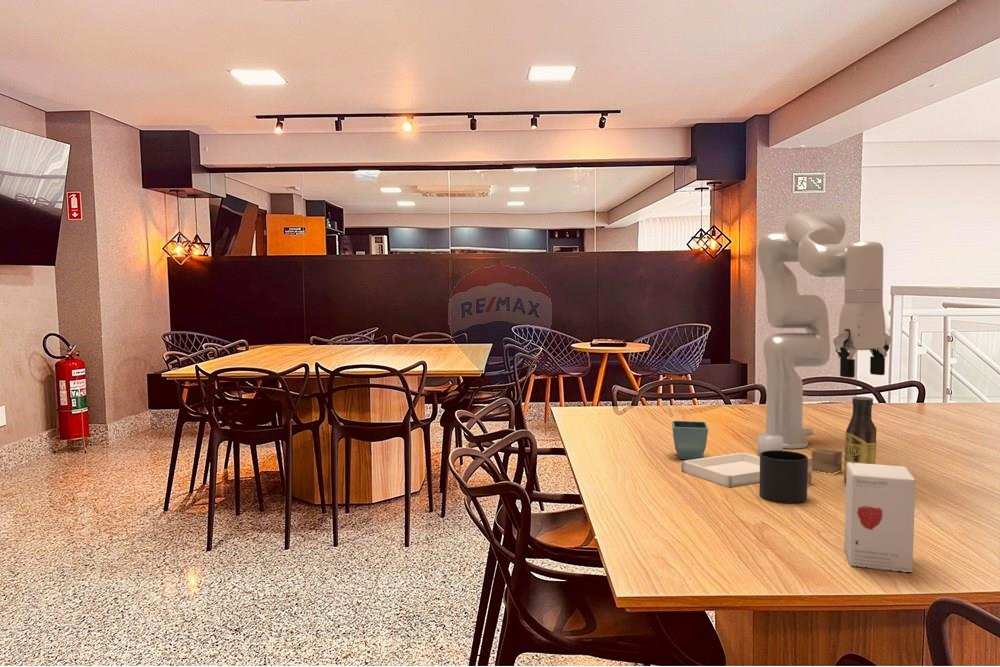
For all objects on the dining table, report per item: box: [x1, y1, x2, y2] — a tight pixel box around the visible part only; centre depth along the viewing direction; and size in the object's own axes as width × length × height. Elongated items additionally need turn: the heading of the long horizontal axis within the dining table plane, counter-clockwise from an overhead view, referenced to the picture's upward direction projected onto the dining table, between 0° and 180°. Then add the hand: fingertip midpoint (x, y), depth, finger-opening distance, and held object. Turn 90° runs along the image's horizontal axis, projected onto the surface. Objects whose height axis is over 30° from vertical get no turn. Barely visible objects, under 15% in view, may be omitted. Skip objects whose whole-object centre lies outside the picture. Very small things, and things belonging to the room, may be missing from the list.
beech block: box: [807, 456, 812, 485], centre depth 160 cm, size 4×4×6 cm
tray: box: [680, 452, 760, 488], centre depth 168 cm, size 20×16×2 cm
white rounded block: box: [756, 433, 784, 457], centre depth 178 cm, size 6×6×7 cm
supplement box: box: [843, 462, 916, 573], centre depth 114 cm, size 9×9×15 cm
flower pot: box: [671, 420, 709, 460], centre depth 185 cm, size 9×9×9 cm
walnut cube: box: [811, 447, 843, 474], centre depth 170 cm, size 5×5×5 cm
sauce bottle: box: [843, 396, 877, 485], centre depth 157 cm, size 7×6×20 cm
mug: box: [758, 450, 809, 504], centre depth 150 cm, size 9×12×9 cm
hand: (862, 375), depth 156 cm, fingers open, 9 cm apart
